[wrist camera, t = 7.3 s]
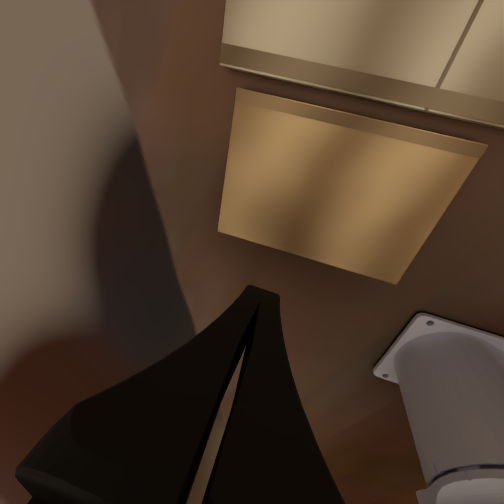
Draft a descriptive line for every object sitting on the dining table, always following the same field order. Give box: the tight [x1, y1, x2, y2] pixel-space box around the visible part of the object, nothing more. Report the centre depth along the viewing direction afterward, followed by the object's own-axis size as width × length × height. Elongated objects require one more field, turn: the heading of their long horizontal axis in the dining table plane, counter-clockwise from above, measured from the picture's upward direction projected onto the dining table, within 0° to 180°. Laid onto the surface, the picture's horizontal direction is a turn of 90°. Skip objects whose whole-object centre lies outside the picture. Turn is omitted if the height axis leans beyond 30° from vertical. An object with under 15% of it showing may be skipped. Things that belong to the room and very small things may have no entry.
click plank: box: [218, 87, 488, 285], centre depth 16 cm, size 13×9×1 cm
